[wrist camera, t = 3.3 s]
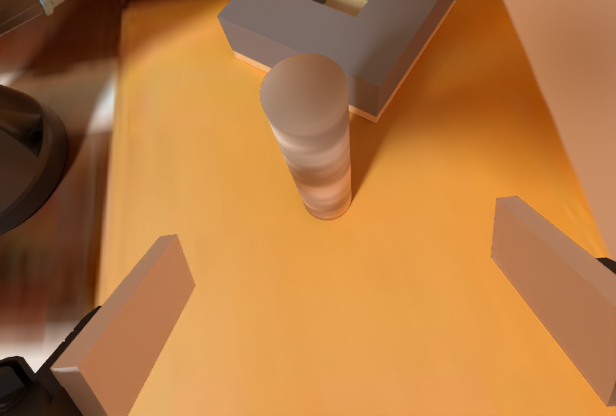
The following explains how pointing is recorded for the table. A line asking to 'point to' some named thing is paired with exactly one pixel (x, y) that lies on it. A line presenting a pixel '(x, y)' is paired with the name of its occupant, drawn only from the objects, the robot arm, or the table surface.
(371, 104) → the socket block
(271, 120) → the birch peg
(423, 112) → the table surface
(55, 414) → the robot arm
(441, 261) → the table surface
